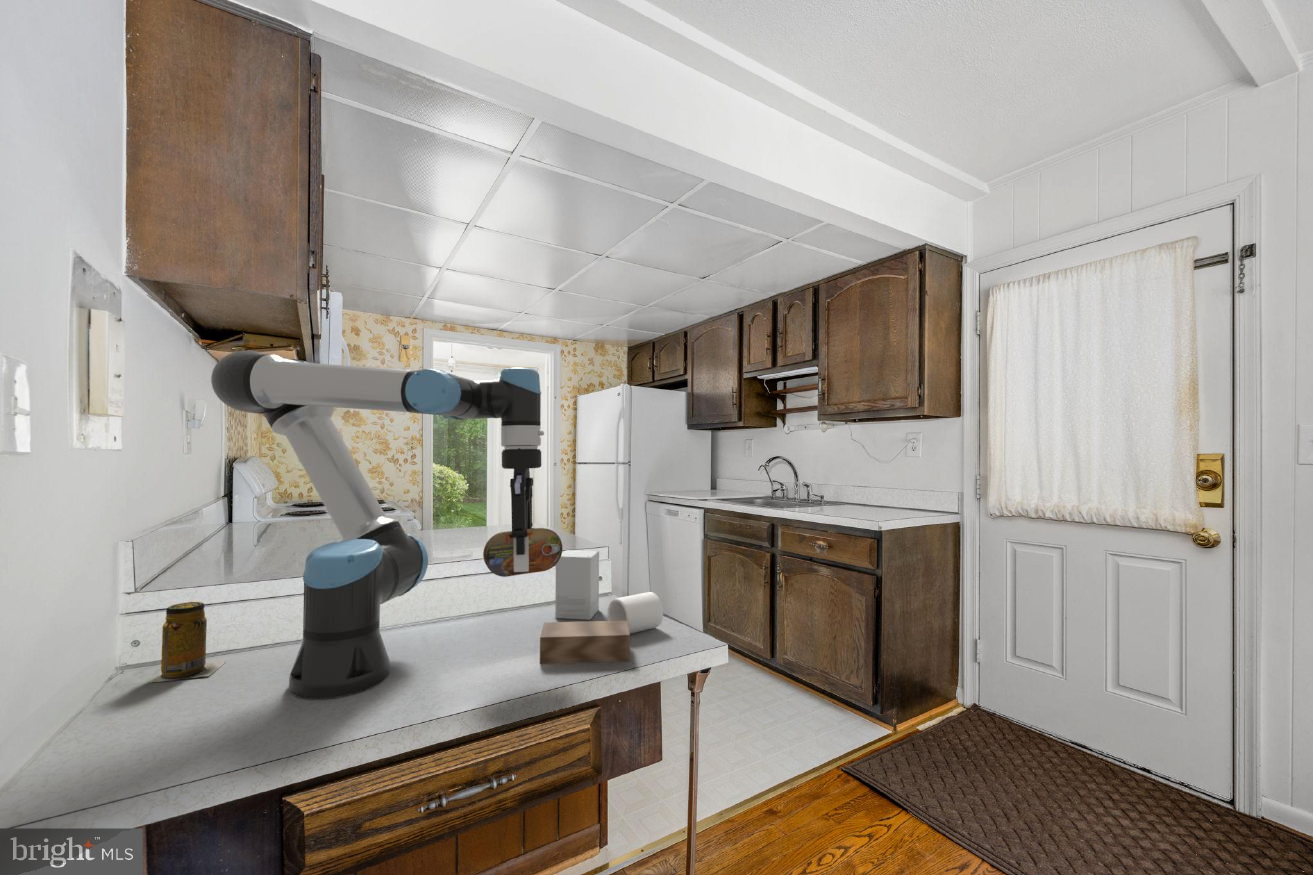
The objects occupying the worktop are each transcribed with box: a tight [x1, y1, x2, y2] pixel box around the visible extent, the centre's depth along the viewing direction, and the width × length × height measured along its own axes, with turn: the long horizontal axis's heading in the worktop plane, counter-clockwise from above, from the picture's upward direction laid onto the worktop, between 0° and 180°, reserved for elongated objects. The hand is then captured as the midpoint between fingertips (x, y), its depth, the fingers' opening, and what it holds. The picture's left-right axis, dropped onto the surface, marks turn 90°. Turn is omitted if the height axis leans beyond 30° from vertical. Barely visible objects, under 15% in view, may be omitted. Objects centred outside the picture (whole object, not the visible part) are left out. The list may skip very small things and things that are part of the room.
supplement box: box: [554, 549, 600, 621], centre depth 138 cm, size 9×9×15 cm
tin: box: [482, 527, 563, 578], centre depth 108 cm, size 15×3×8 cm, turn 118°
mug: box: [607, 591, 664, 635], centre depth 127 cm, size 12×10×8 cm
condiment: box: [149, 601, 226, 683], centre depth 99 cm, size 7×8×12 cm
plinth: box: [539, 620, 631, 665], centre depth 111 cm, size 17×9×5 cm, turn 97°
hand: (523, 568), depth 108 cm, fingers closed on tin, 4 cm apart
